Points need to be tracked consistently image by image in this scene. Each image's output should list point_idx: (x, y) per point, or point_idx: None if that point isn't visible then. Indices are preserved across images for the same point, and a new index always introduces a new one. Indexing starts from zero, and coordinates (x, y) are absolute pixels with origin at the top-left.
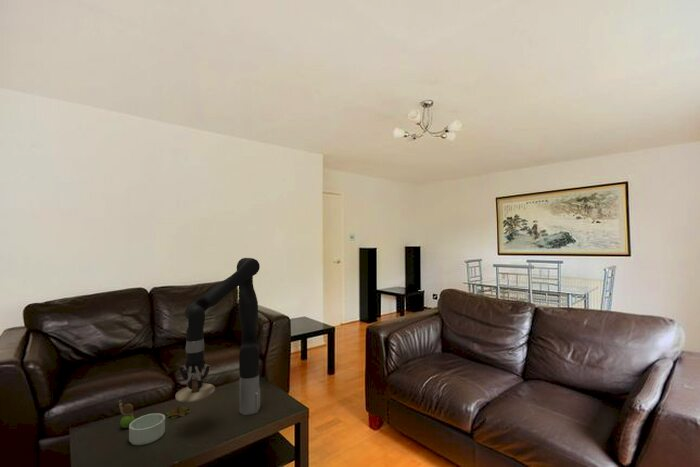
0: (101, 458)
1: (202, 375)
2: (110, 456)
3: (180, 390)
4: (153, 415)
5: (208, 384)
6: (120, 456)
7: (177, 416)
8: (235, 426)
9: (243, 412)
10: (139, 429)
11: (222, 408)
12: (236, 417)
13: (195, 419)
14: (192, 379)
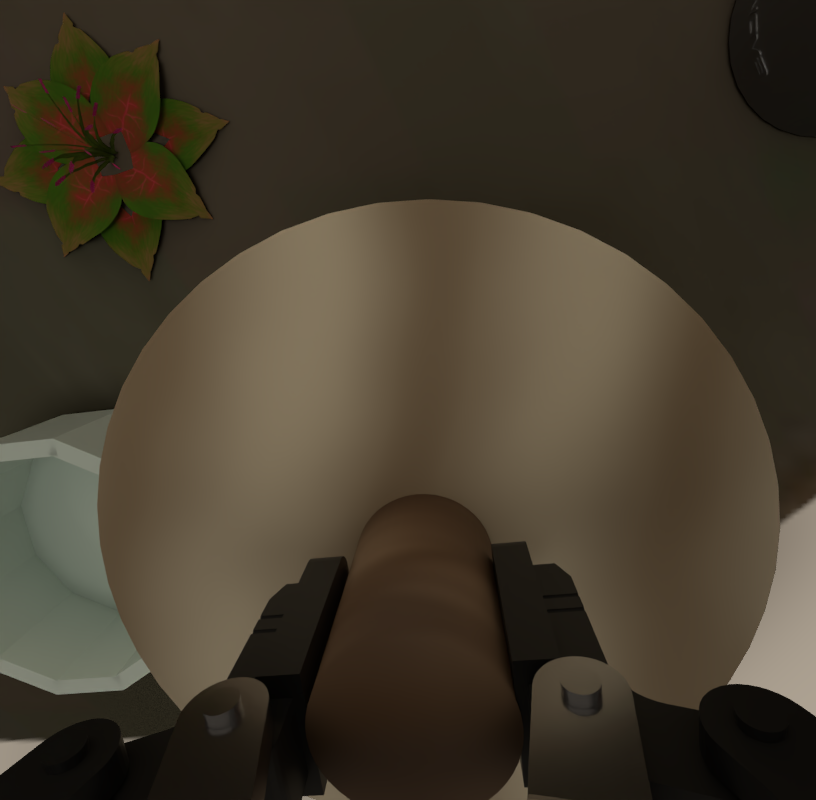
0: (43, 718)
1: (644, 780)
2: (77, 702)
3: (120, 531)
4: (15, 457)
5: (534, 251)
6: (136, 701)
7: (151, 223)
8: (766, 342)
9: (806, 127)
10: (95, 687)
11: (509, 9)
12: (728, 187)
13: None
14: (291, 690)
